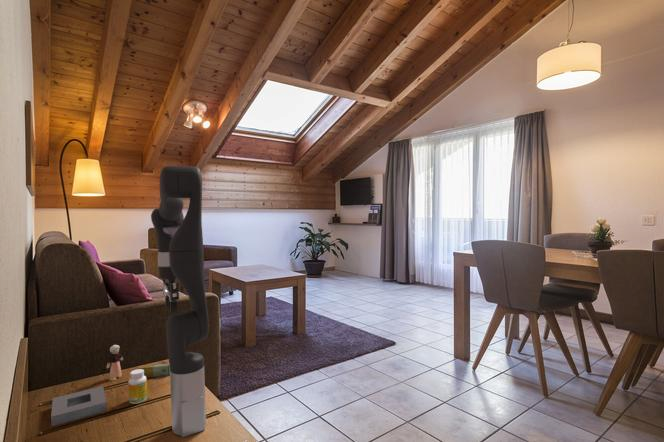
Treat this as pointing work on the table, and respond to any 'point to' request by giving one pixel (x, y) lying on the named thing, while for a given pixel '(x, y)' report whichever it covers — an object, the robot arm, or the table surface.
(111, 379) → the grandmother figurine
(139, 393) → the supplement bottle
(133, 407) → the table surface
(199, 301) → the robot arm
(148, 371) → the medication box
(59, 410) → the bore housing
